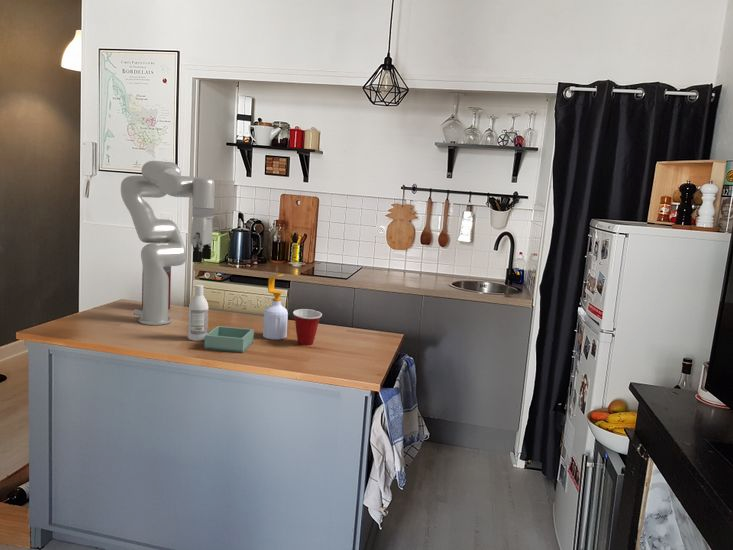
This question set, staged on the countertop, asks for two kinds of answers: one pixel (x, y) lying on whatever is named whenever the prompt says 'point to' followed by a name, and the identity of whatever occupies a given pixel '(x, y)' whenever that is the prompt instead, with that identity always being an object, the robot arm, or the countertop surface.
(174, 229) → the robot arm
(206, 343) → the tub
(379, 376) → the countertop surface
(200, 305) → the bath foam
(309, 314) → the plastic cup
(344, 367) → the countertop surface
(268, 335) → the soap bottle
